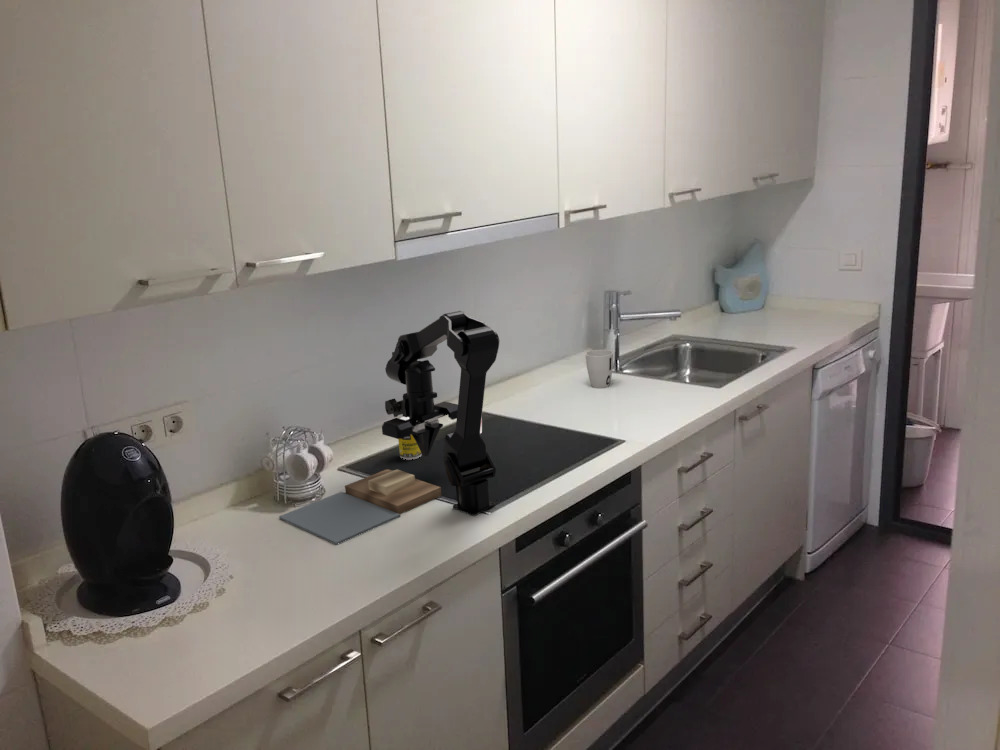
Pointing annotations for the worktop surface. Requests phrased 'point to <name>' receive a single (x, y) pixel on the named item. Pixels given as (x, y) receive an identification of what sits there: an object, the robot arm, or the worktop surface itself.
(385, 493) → the birch tile
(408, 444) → the supplement bottle
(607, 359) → the cup
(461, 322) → the robot arm
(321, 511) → the slate mat
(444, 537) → the worktop surface
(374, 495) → the walnut board
